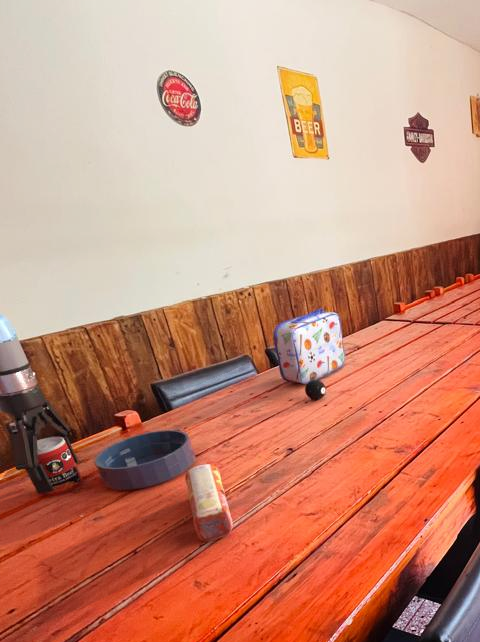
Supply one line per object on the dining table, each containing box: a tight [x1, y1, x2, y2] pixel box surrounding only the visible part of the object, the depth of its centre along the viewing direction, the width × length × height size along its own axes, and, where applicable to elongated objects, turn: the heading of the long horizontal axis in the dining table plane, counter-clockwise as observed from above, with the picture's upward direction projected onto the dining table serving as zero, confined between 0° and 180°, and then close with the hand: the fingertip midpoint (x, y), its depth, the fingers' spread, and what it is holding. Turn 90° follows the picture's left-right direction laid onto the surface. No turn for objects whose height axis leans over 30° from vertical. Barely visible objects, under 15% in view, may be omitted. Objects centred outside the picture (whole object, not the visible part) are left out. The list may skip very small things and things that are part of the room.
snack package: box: [184, 463, 234, 543], centre depth 102 cm, size 21×7×7 cm, turn 31°
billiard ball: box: [304, 379, 327, 400], centre depth 157 cm, size 6×6×6 cm
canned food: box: [37, 436, 83, 496], centre depth 115 cm, size 8×8×11 cm
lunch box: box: [272, 308, 346, 385], centre depth 174 cm, size 28×10×22 cm, turn 159°
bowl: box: [94, 429, 197, 491], centre depth 121 cm, size 19×19×6 cm
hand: (59, 476), depth 117 cm, fingers open, 13 cm apart
